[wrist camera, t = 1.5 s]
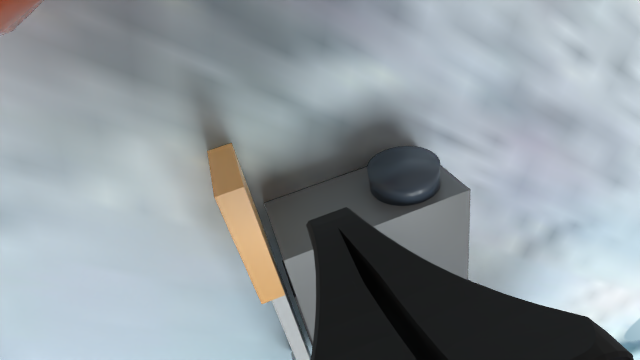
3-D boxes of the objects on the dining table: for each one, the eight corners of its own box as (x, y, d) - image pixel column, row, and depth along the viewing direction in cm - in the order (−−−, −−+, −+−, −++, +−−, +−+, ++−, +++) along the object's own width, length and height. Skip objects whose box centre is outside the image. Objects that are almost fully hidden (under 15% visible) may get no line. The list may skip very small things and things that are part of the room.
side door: (309, 351, 24) (328, 406, 21) (292, 358, 24) (309, 414, 21) (231, 142, 15) (244, 187, 13) (204, 151, 15) (211, 198, 12)
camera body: (428, 302, 26) (472, 363, 22) (314, 350, 24) (340, 424, 21) (418, 130, 18) (480, 176, 15) (255, 186, 17) (277, 253, 13)
